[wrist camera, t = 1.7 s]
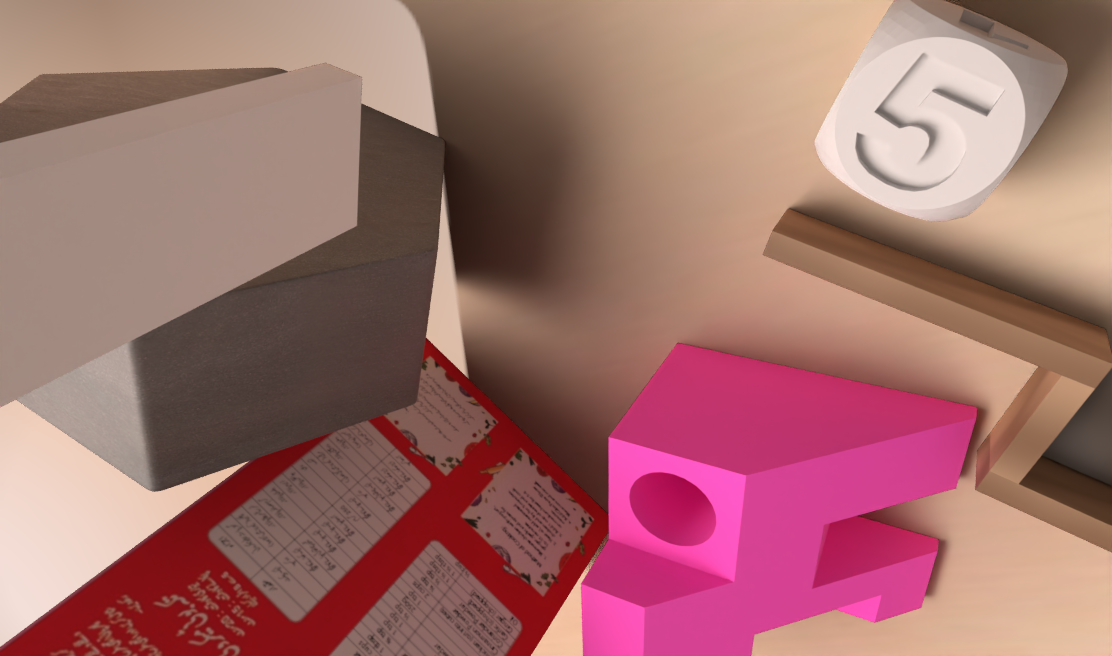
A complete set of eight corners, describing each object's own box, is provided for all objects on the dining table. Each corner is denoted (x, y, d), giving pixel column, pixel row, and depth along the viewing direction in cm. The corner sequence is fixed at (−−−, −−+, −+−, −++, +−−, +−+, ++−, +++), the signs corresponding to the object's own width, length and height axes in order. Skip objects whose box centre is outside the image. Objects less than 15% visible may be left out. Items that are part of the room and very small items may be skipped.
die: (1065, 50, 22) (1078, 81, 19) (962, 191, 25) (955, 243, 22) (909, -17, 24) (890, -1, 20) (828, 126, 27) (798, 165, 23)
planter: (113, 181, 40) (-136, 475, 24) (91, 34, 35) (-235, 272, 19) (432, 225, 43) (407, 510, 27) (448, 96, 39) (431, 344, 22)
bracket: (669, 513, 39) (583, 672, 31) (678, 341, 34) (578, 478, 26) (922, 593, 34) (897, 808, 26) (977, 405, 29) (966, 599, 21)
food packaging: (385, 383, 44) (-86, 752, 25) (421, 333, 41) (-92, 715, 22) (564, 557, 44) (221, 1069, 25) (615, 520, 41) (264, 1081, 21)
